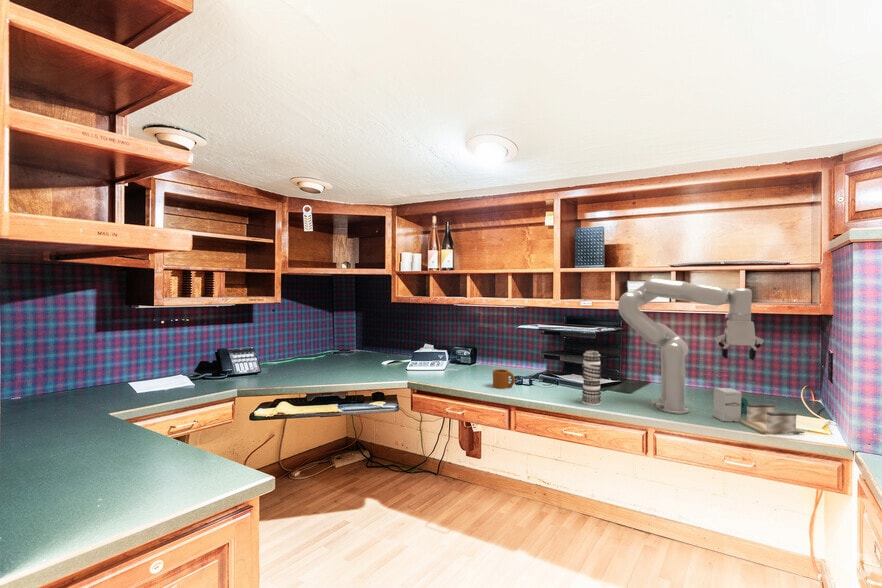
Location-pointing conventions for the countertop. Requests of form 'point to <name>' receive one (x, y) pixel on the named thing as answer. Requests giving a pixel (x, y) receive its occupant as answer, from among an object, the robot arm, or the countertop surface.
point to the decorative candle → (591, 378)
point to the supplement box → (727, 404)
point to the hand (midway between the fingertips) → (738, 358)
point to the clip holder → (770, 420)
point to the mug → (502, 379)
